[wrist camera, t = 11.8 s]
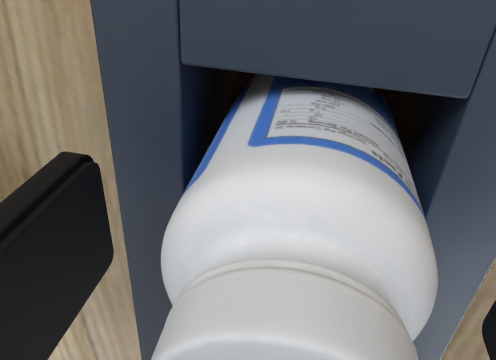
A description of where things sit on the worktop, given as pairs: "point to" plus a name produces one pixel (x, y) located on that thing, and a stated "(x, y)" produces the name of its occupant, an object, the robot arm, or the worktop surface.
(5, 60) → the worktop surface
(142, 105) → the holder
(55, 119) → the worktop surface
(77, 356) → the worktop surface
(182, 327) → the pill bottle
